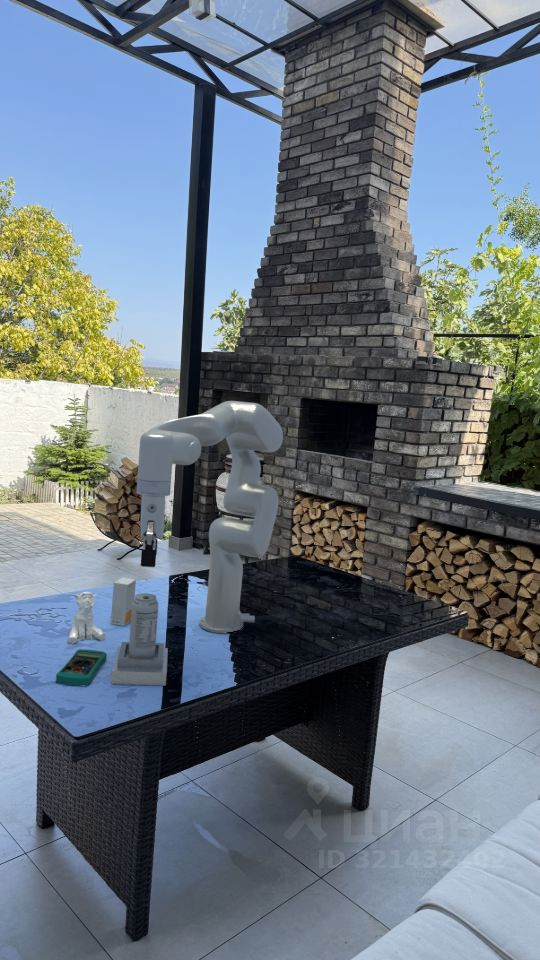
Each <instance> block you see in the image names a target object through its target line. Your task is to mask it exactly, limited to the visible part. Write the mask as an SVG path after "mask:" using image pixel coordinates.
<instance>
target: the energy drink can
mask: <svg viewBox="0 0 540 960" xmlns="http://www.w3.org/2000/svg"><path fill="white" fill-rule="evenodd" d="M158 617H159V602H158V599H157V595H155V594H153V593H147V592H145V593H143V592H142V593H139V594H138V593H137V594H135V598H134V601H133V602H132V611H131V621H130V625H129V626H130V628H129V640H128V642H129V657H142V658H153V657H154V656H155V646H156V643H157V630H158V629H157V628H158Z"/></svg>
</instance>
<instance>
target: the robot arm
mask: <svg viewBox="0 0 540 960" xmlns="http://www.w3.org/2000/svg"><path fill="white" fill-rule="evenodd" d="M139 439H140V440H139V451H138V453H139V454H138V465H137V466H138V467H137V481H136V494H138V495H140V496H141V501H140V508H141V509H140V538H141V539H143V540H142V541H143V543H142V548H141V554H140V566H141V567H145V568H155V567H156V559H157V554H158V552H157V551H158V542H159V541H161V540H163V539H164V538H163V537H164V527H165V514H166V497H168V496H170V495H171V486H172V471H173V465H182V466H189V465H192V464H194V463H195V462H197V461H198V459H199V458H200V456H201V453H202V447H209V446H214V445H217V444H218V443H220V442H222V441H223V440H224V439H226V443H227V446H228V449H229V451H230V456H231V461H232V462H231V468H230V469H231V470H230V472H229V473H230V474H229V477H228V480H227V485H226V488H225V491H224V496H223V501H222V503H223V504H222V505H223V507H224V509H225V510H226V511H227V512H228V513H231V514H234V515H239V516H242V517H243V516H244V517H248V518H254V520H253V521H249V520H244V519H238V518H236V517H235V518H233V517H227V516H226V517H225V516H224V517H223V516H222V517H218V518H216V519H214V520H213V521H212V522H211V524H210V525H209V530H208V542H209V553H210V554H209V555H210V556H209V557H210V558H209V572H208V583H207V594H206V595H207V596H206V604H205V605H206V606H205V615H204V616H203V617H200V619H199V626H200V627H201V629H203V630H206V631H207V632H212V633H216V634H225V633H224V632H233V631H237V630H240V629H241V628H242V627H243V628H244V623H255V621H256V620H255V619H256V617H255V615H250V613H242V611H241V610H240V603H241V594H242V593H241V592H242V584H243V583H242V582H243V573H244V567H243V562H242V559H241V556H240V555H243V556H246V557H251V558H252V557H253V558H261V557H263V556H264V555H265V554H266V552H267V551H268V548H269V545H270V542H271V539H272V536H273V535H272V534H273V531H274V525H275V522H276V518H277V514H278V510H279V509H278V508H279V501H280V500H279V495H278V492H277V490H276V489H274V488H273V487H271V486H270V485H265V484H259V481H260V476H261V473H262V472H261V471H262V467H261V462H260V459H259V457H258V456H257V454H256V452H265V453H273V452H276V451H278V450H279V449H280V448H281V446H282V444H283V440H284V434H283V430H282V426H281V424H280V423H279V422H278V421H277V420H276V419H275V418H274V416H273V415H272V414H271V413H270V412H269V410H268V409H267V408H265V407H264V406H263V405H261V404H260V403H257V402H256V403H255V402H248V401H247V402H246V401H238V400H237V401H236V400H227V401H223V402H221V403H220V404H217V405H215V406H214V407H212V408H209V409H208V410H206V411H204V412H202V413H200V414H194V415H190V416H184V417H180V418H176V419H175V418H174V419H170V420H167V421H164V422H161V423H159V424H157V425H156V426H154V427H152V428H151V429H149V430H148V431H147V432H144V433H143V434H141V435H140V438H139ZM255 451H256V452H255ZM158 539H159V541H158ZM243 628H242V629H243ZM242 629H241V630H242ZM241 630H240V631H241Z"/></svg>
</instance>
